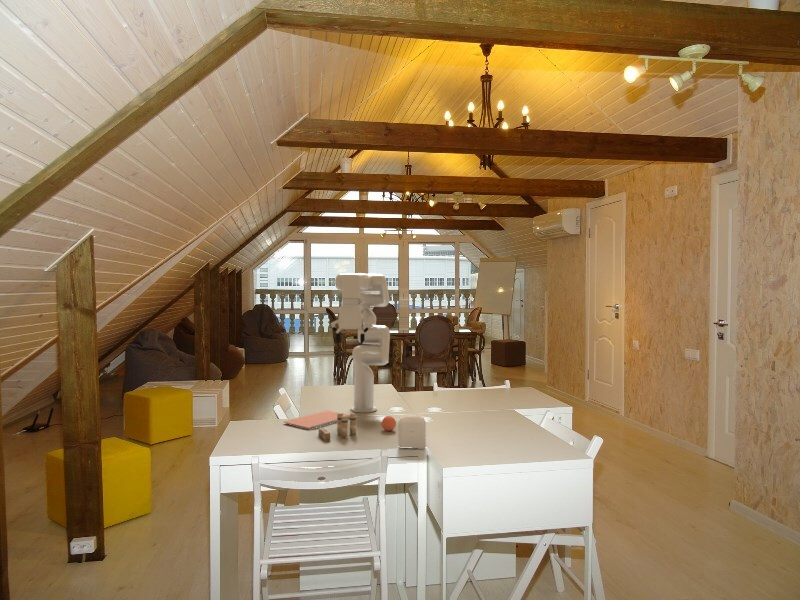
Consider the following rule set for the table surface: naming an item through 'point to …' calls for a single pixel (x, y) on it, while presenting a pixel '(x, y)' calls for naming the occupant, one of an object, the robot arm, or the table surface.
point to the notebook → (315, 420)
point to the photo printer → (412, 432)
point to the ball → (388, 423)
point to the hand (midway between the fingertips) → (350, 342)
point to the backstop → (324, 433)
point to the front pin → (352, 424)
